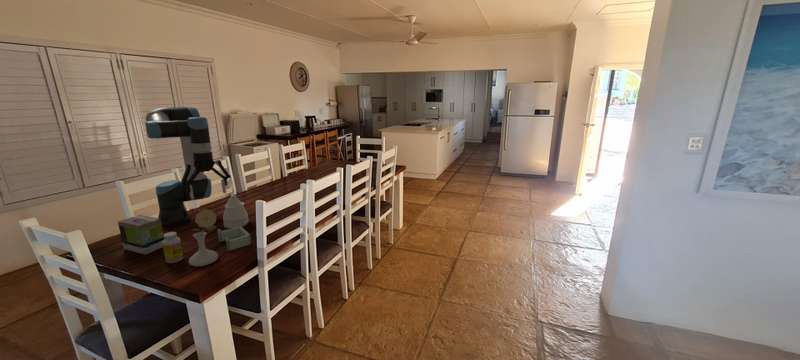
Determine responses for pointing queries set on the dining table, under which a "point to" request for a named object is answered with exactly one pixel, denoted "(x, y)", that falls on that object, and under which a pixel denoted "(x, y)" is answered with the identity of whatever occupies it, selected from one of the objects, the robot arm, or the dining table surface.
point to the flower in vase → (203, 254)
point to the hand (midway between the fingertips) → (209, 195)
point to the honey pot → (235, 213)
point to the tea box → (141, 234)
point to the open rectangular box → (232, 233)
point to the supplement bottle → (172, 247)
